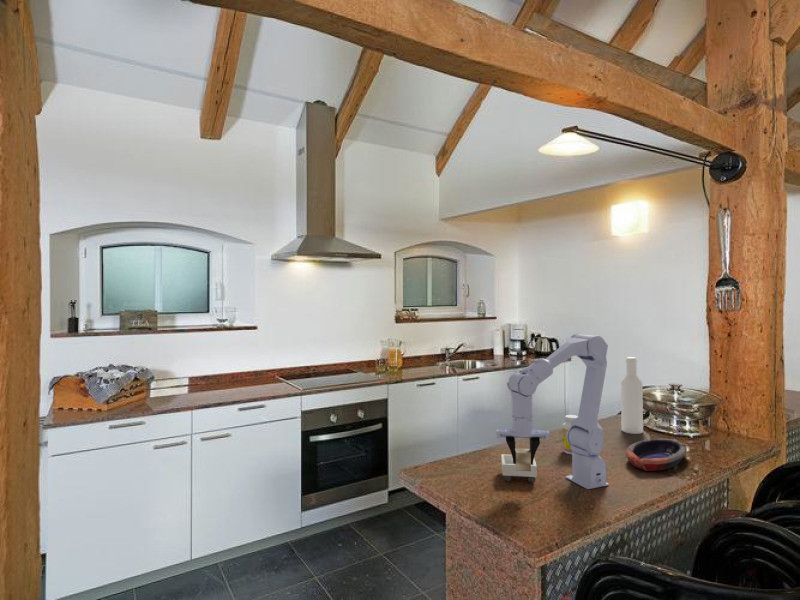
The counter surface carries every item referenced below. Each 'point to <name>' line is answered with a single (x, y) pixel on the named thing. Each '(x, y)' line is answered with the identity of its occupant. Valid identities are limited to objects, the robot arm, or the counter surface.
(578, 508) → the counter surface
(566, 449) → the supplement bottle
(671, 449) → the dish
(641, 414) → the bottle
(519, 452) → the block
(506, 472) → the white open storage bin
